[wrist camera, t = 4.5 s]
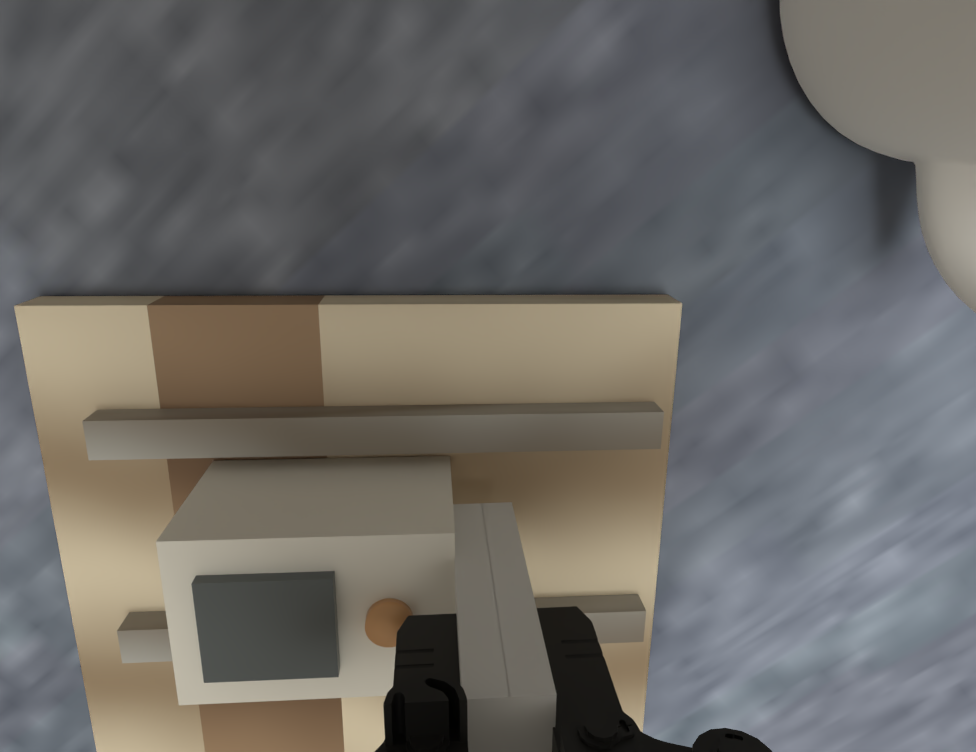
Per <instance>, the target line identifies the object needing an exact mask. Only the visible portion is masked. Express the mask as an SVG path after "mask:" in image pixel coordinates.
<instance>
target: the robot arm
mask: <svg viewBox="0 0 976 752" xmlns="http://www.w3.org/2000/svg"><path fill="white" fill-rule="evenodd" d="M453 511H454V526H455V558H454V562H455V614H433V615H411V616H408V617H407V618H406V620H405V621H404V622H403V624H402V625H401V627H400V628H399V630H398V631H397V638H396V654H395V669H394V680H393V687H392V688H391V689H390V690H389V691H388V692H387V695H386V698H385V701H384V704H383V709H384V729H385V740H384V742H383V743H382V744H381V745H380V746H379V747H378V749H377V750H376V751H375V752H772V751H771V750H770V749H769V748H768V747H767V746H766V745H764V744H763V743H762V742H761V741H760V740H758V739H757V738H755V737H753V736H751V735H749V734H746V733H744V732H742V731H738V730H733V729H728V728H721V729H711V730H709V731H707V732H705V733H703V734H701V735H699V736H698V738H697V739H696V741H695V742H694V744H693V747H692V748H690V747H686V746H681V745H676V744H671V743H667V742H663V741H660V740H657V739H654V738H652V737H650V736H648V735H646V734H644V733H642V732H641V731H640V729H639V728H638V726H637V724H636V723H635V721H634V720H633V719H632V718H631V717H630V716H628V715H627V714H626V713H624V712H623V710H622V708H621V705H620V702H619V699H618V696H617V693H616V690H615V687H614V684H613V681H612V679H611V676H610V673H609V670H608V667H607V664H606V661H605V658H604V657H603V652H602V650H601V647H600V644H599V642H598V638H597V635H596V632H595V629H594V626H593V623H592V621H591V620H590V619H589V618H588V617H587V616H586V615H585V614H584V613H583V612H582V611H581V610H580V609H579V608H578V607H577V606H571V607H549V608H536V604H535V600H534V595H533V591H532V587H531V582H530V578H529V574H528V570H527V565H526V561H525V557H524V552H523V548H522V544H521V539H520V535H519V531H518V527H517V522H516V518H515V514H514V509H513V505H512V502H504V503H475V504H453Z"/></svg>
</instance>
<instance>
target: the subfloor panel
mask: <svg viewBox="0 0 976 752" xmlns="http://www.w3.org/2000/svg"><path fill="white" fill-rule="evenodd" d="M14 308H15V314H16V319H17V324H18V330H19V335H20V340H21V346H22V351H23V357H24V362H25V367H26V373H27V378H28V384H29V389H30V394H31V400H32V405H33V411H34V416H35V421H36V427H37V432H38V437H39V443H40V448H41V454H42V459H43V464H44V470H45V475H46V481H47V486H48V491H49V497H50V502H51V508H52V513H53V518H54V524H55V529H56V534H57V540H58V545H59V551H60V556H61V561H62V567H63V572H64V578H65V583H66V588H67V594H68V599H69V605H70V610H71V615H72V621H73V626H74V631H75V637H76V642H77V648H78V653H79V658H80V664H81V669H82V675H83V680H84V685H85V691H86V696H87V701H88V707H89V712H90V718H91V723H92V728H93V734H94V739H95V745H96V750H97V752H375V751H376V750H377V749H378V747H379V746H380V745H381V744H382V743H383V742H384V740H385V729H384V709H383V704H384V701H385V698H386V696H372V697H350V698H328V699H306V700H284V701H263V702H241V703H219V704H197V705H179V704H178V696H177V689H176V682H175V675H174V668H173V661H172V654H171V647H170V639H169V632H168V625H167V618H166V611H165V604H164V597H163V590H162V582H161V575H160V568H159V561H158V554H157V547H156V541H157V539H158V538H159V537H160V535H161V534H162V532H163V531H164V529H165V528H166V527H167V525H168V524H169V522H170V521H171V520H172V518H173V517H174V515H175V514H176V513H177V511H178V510H179V508H180V507H181V506H182V504H183V503H184V501H185V500H186V498H187V497H188V496H189V494H190V493H191V491H192V490H193V489H194V487H195V486H196V484H197V483H198V482H199V480H200V479H201V477H202V476H203V475H204V473H205V472H206V470H207V469H208V467H209V466H210V465H211V463H212V462H213V461H223V460H273V459H323V458H373V457H422V456H450V466H451V481H452V496H453V504H475V503H504V502H512V505H513V509H514V514H515V518H516V522H517V527H518V531H519V535H520V539H521V544H522V548H523V552H524V557H525V561H526V565H527V570H528V574H529V578H530V582H531V587H532V591H533V595H534V600H535V604H536V608H549V607H571V606H577V607H578V608H579V609H580V610H581V611H582V612H583V613H584V614H585V615H586V616H587V617H588V618H589V619H590V620H591V621H592V623H593V626H594V629H595V632H596V635H597V638H598V642H599V644H600V647H601V650H602V652H603V657H604V658H605V661H606V664H607V667H608V670H609V673H610V676H611V679H612V681H613V684H614V687H615V690H616V693H617V696H618V699H619V702H620V705H621V708H622V710H623V712H624V713H626V714H627V715H628V716H630V717H631V718H632V719H633V720H634V721H635V723H636V724H637V726H638V728H639V729H640V731H641V732H642V731H643V720H644V710H645V699H646V688H647V677H648V667H649V656H650V645H651V634H652V624H653V613H654V602H655V591H656V581H657V570H658V559H659V548H660V538H661V527H662V516H663V505H664V495H665V484H666V473H667V462H668V452H669V441H670V430H671V419H672V409H673V398H674V387H675V376H676V366H677V355H678V344H679V333H680V323H681V312H682V303H681V302H679V301H677V300H676V299H674V298H672V297H671V296H669V295H302V296H40V297H37V298H34V299H32V300H29V301H26V302H23V303H20V304H18V305H15V306H14Z"/></svg>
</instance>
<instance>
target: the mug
mask: <svg viewBox="0 0 976 752" xmlns="http://www.w3.org/2000/svg"><path fill="white" fill-rule="evenodd" d="M780 18H781V25H782V32H783V39H784V43H785V46H786V50H787V53H788V57H789V61H790V64H791V66H792V68H793V71H794V73H795V75H796V78H797V80H798V82H799V84H800V86H801V88H802V89H803V91H804V93H805V94H806V96H807V98H808V99H809V101H810V102H811V104H812V105H813V106H814V107H815V109H816V110H817V111H818V112H819V113H820V115H821V116H822V117H823V118H824V119H825V120H826V121H827V122H828V123H829V124H830V125H831V126H832V127H834V128H835V129H836V130H837V131H838V132H839V133H841V134H842V135H844V136H845V137H847V138H849V139H850V140H852V141H853V142H855V143H856V144H858V145H861V146H863V147H865V148H867V149H870V150H872V151H874V152H877V153H880V154H883V155H886V156H890V157H893V158H896V159H900V160H903V161H910V162H914V164H915V169H916V195H917V206H918V215H919V220H920V225H921V231H922V234H923V237H924V240H925V244H926V247H927V250H928V252H929V254H930V256H931V258H932V260H933V262H934V265H935V266H936V268H937V269H938V271H939V273H940V274H941V276H942V277H943V279H944V280H945V282H946V284H947V285H948V286H949V287H950V288H951V290H952V291H953V292H954V293H955V294H956V295H957V297H958V298H959V299H961V300H962V301H963V302H964V303H965V304H966V305H967V306H968V307H969V308H971V309H972V310H973V311H974V312H975V313H976V0H780Z"/></svg>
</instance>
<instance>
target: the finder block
mask: <svg viewBox="0 0 976 752" xmlns="http://www.w3.org/2000/svg"><path fill="white" fill-rule="evenodd" d="M156 547H157V554H158V561H159V568H160V575H161V582H162V590H163V597H164V604H165V611H166V618H167V625H168V632H169V639H170V647H171V654H172V661H173V668H174V675H175V682H176V689H177V696H178V704H179V705H197V704H219V703H241V702H263V701H284V700H306V699H328V698H350V697H372V696H386V695H387V692H388V691H389V690H390V689H391V688H392V687H393V680H394V669H395V654H396V638H397V631H398V630H399V628H400V627H401V625H402V624H403V622H404V621H405V620H406V618H407V617H408V616H411V615H433V614H455V562H454V558H455V526H454V511H453V496H452V481H451V466H450V456H422V457H373V458H323V459H273V460H223V461H213V462H212V463H211V465H210V466H209V467H208V469H207V470H206V472H205V473H204V475H203V476H202V477H201V479H200V480H199V482H198V483H197V484H196V486H195V487H194V489H193V490H192V491H191V493H190V494H189V496H188V497H187V498H186V500H185V501H184V503H183V504H182V506H181V507H180V508H179V510H178V511H177V513H176V514H175V515H174V517H173V518H172V520H171V521H170V522H169V524H168V525H167V527H166V528H165V529H164V531H163V532H162V534H161V535H160V537H159V538H158V539H157V541H156Z"/></svg>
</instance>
